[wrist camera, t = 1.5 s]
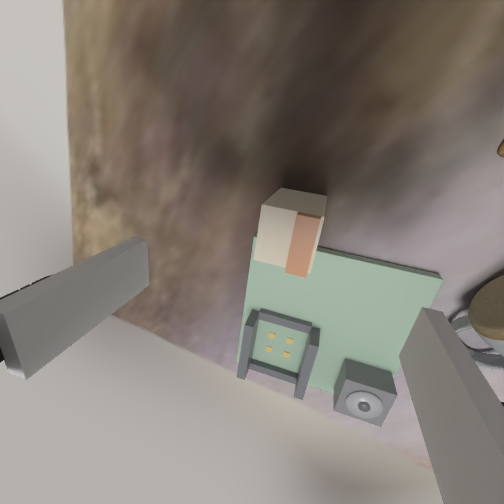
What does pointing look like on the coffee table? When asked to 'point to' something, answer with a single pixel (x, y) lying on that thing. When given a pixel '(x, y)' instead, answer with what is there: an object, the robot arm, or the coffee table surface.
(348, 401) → the fan
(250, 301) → the board
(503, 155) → the lion figurine
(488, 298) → the ceramic mug
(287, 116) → the coffee table surface
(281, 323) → the header
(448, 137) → the coffee table surface
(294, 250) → the plug
